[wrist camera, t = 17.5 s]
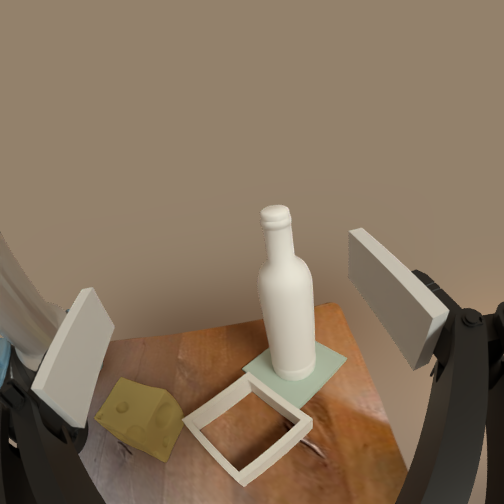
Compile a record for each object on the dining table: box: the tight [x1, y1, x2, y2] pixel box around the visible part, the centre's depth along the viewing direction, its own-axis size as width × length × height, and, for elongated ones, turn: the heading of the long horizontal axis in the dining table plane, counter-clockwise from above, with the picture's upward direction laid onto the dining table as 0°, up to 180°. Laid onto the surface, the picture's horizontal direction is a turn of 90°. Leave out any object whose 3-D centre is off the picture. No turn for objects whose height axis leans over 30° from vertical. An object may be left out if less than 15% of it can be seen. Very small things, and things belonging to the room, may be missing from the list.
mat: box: [242, 341, 347, 409], centre depth 47 cm, size 14×14×1 cm
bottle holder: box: [182, 372, 313, 487], centre depth 36 cm, size 14×14×4 cm
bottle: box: [257, 205, 316, 381], centre depth 40 cm, size 8×8×30 cm
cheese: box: [94, 377, 185, 463], centre depth 35 cm, size 10×11×10 cm
